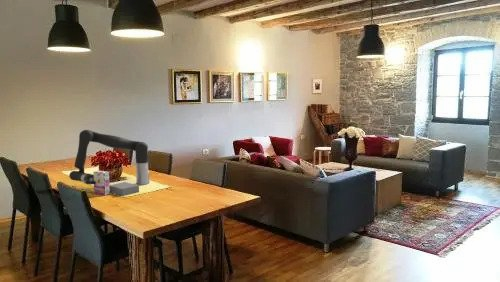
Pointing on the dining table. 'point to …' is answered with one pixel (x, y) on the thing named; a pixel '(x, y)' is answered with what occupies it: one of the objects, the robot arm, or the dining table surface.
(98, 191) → the candy bar box
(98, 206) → the dining table surface
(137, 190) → the charcoal plinth
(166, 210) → the dining table surface
